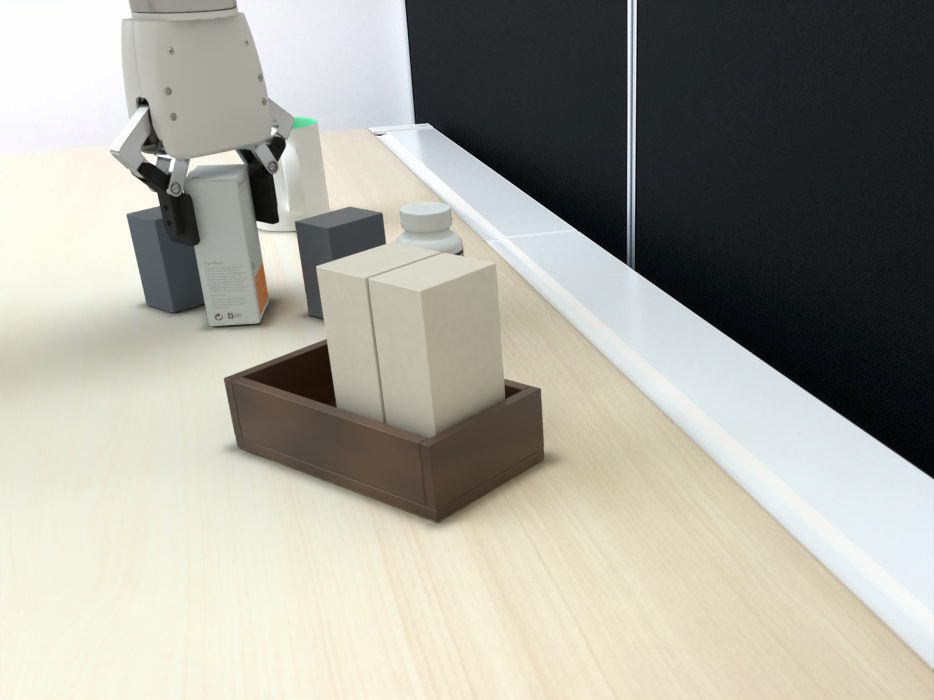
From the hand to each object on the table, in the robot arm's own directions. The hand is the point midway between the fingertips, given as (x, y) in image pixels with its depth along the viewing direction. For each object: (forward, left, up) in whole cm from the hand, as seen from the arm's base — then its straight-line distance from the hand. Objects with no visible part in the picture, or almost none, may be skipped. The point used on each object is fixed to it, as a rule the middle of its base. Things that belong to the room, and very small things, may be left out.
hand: (225, 230), depth 90 cm
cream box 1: (+31, -12, -6) cm, 34 cm away
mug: (-19, +22, -7) cm, 30 cm away
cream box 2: (+35, -12, -6) cm, 38 cm away
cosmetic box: (0, 0, -7) cm, 7 cm away
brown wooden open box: (+30, -12, -7) cm, 33 cm away
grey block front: (+7, +6, -7) cm, 12 cm away
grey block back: (-7, 0, -7) cm, 10 cm away
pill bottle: (+16, +7, -7) cm, 19 cm away
